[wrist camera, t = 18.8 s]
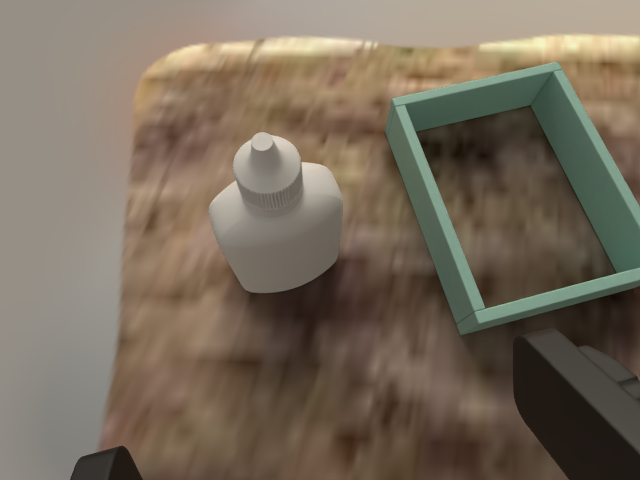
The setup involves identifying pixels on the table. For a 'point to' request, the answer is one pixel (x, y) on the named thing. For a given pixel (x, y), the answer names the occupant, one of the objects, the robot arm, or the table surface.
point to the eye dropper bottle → (277, 217)
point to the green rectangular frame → (574, 156)
